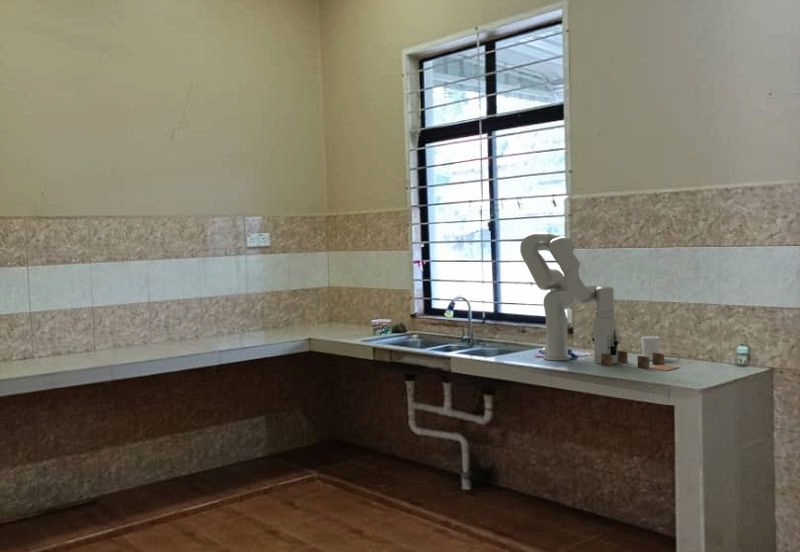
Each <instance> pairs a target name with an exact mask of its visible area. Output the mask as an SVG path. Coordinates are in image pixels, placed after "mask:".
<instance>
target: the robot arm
mask: <svg viewBox="0 0 800 552" xmlns="http://www.w3.org/2000/svg"><path fill="white" fill-rule="evenodd" d="M519 250H520V256H521V257H522V259H523V261H524V263H525V265H526V267H527V269H528V270H529V272H530V274H531V277H532V278H533V280H534V282H535V284H536V286H537V288H538V289H540V290H542V291H549V292H547V293H546V294H545V296H544V298H543V308H544V313H545V314H544V315H545V331H546V332H545V337H546V339H545V340H546V341H545V342H546V347H543V348H542V349H540V352H541V353H542V354H543V353H544V355H543V359H544V360H547V361H558V362H559V361H569V360H571V359H572V355H570V354H568V351H569V349H568V320H567V314H566V311H565V310H567V309H568V310H569V309H570V308H571V307H572V306H573V305H574V303H575V301H576V302H577V303H579V304H582V305H585V304H589V303H590V304H591V303H596V305H595V307H596V311H594V314H595V315H596V316H595V317H594V321H593V328H592V329H593V330H592V333H590V335H589V336H590V338H591V340H592V342H593V343H594V335H603V336H608V341H611V345H612V346H611V355H612V356H613V355H616V354H617V346H618V345H619V344H620V342H621V341H622V340H623V337H622V336H621V335H620V334H619V333H618V325H617V319H616V318H615V297H614V296H615V294H614V293H615V292H614V288H613V287H612V286H598V285H597V286H596V285H586V286H585V284H584V282H583V281H582V279H581V277H580V274H579V271H580V266H581V264H580V263H581V262H580V261H579V259H578V258H577V256H576V255H575V254H574V250H575V244H574V241H573V240H572V239H571V238H569V237H568V236H562V235H558V234H554V233H550V232H531V233H528V234H526V235H525V236H524V237H523V238H522V240H521V243H520V248H519ZM539 251H547V252H550V254H551V255H552V257H553V259H554V260H555V262H556V263H557V265H558V267H559V269H560V270H561V271H562V272H561V271H560V270H558V269H556V268H550V267H549V266H548V264H547V262H546V260H545V258H544V257H543V256H542V254H540V252H539ZM614 336H615V338H614V339H613V337H614ZM616 339H617V340H616ZM613 341H614V342H613Z"/></svg>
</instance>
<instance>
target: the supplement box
mask: <svg viewBox="0 0 800 552" xmlns="http://www.w3.org/2000/svg"><path fill="white" fill-rule="evenodd" d="M614 338H615V336H614V337H613V339H614ZM616 340H617V339H616ZM613 342H614V341H613ZM593 346H594V348H593V349H594V350H593V351H594V355H593V356H594V363H595V364H600V365H601V354H602V353H603V354H611V346H612V345H611V341H608V336H603V335H594V342H593ZM616 363H617V364H618V363H619V362H618V346H617V354H616V355H613V356H612V364H616Z"/></svg>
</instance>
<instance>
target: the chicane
mask: <svg viewBox="0 0 800 552" xmlns="http://www.w3.org/2000/svg"><path fill="white" fill-rule="evenodd" d="M652 355H653V360H652V365H653V366H656V365H665V353H661V352H659V353H652ZM636 360H637V369H644V370H651V369H650V368H649V367H650V360H649V357H645V356H643V355H637V359H636ZM628 362H629V360H628V351H627V350H618V362H617V363H621V364H628ZM600 366H604V367H605V366H606V367H613V363H612V355H611V354H603V353H602V354H601V364H600Z"/></svg>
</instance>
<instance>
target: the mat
mask: <svg viewBox="0 0 800 552" xmlns="http://www.w3.org/2000/svg"><path fill="white" fill-rule="evenodd" d="M649 368H650V369H649V370H655V371H656V370H657V371H663V372H669V371H674V370H677V369H680V367H679V366H673V365H666V364H664V365H652V366H649Z"/></svg>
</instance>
